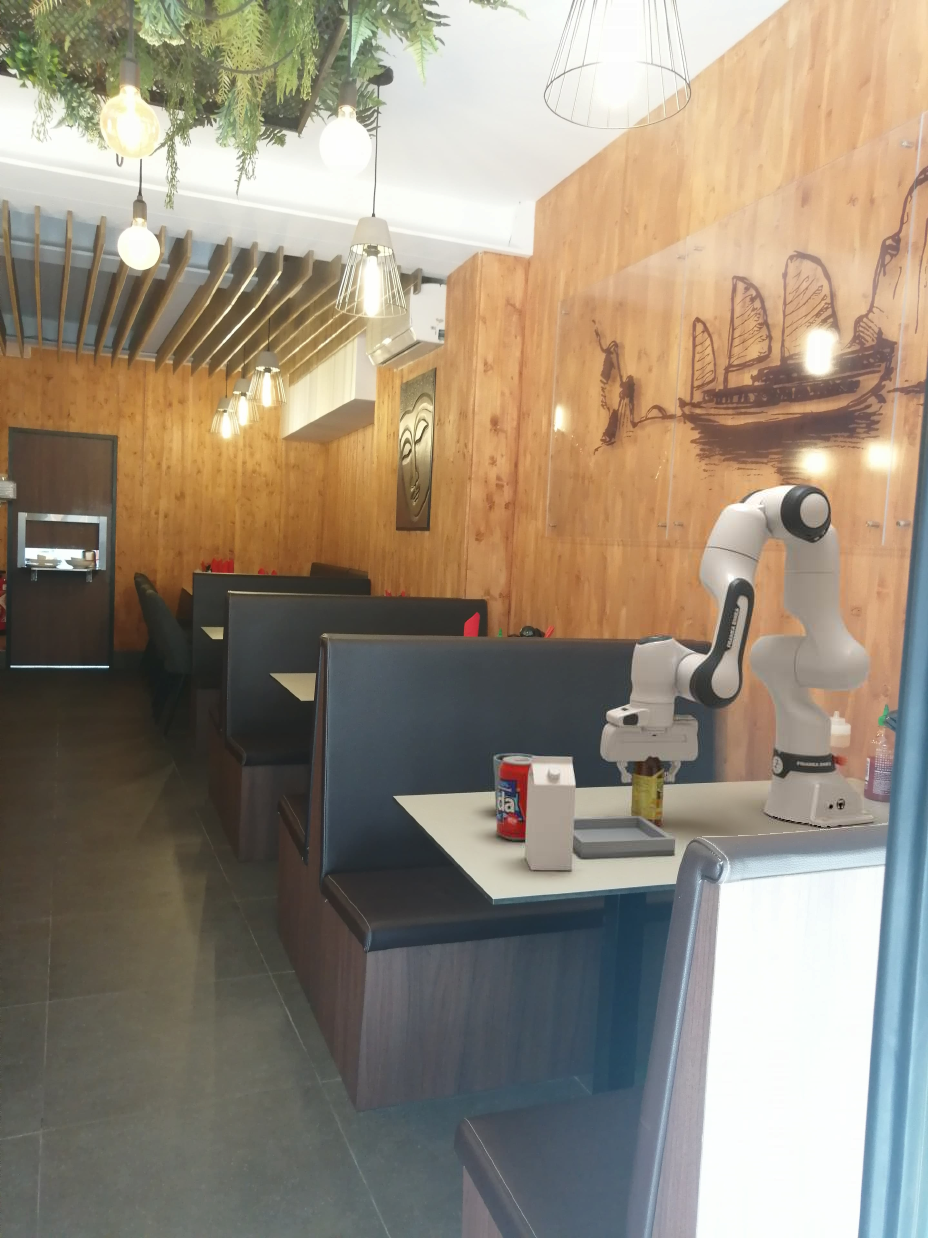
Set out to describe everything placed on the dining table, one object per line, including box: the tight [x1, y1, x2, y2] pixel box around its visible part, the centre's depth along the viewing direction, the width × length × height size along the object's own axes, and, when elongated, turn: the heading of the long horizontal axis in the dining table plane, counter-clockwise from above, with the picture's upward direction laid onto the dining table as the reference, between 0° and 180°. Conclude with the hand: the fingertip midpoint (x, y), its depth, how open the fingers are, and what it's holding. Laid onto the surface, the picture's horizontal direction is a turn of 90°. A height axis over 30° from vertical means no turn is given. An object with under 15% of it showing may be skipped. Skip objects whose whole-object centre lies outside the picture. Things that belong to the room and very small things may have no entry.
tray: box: [573, 815, 676, 860], centre depth 168 cm, size 18×15×3 cm
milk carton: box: [524, 755, 577, 871], centre depth 154 cm, size 7×7×19 cm
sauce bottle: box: [630, 735, 665, 828], centre depth 181 cm, size 7×6×20 cm
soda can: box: [496, 756, 532, 842], centre depth 170 cm, size 8×8×15 cm
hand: (647, 782), depth 181 cm, fingers open, 8 cm apart
